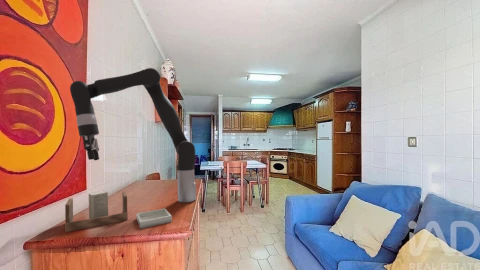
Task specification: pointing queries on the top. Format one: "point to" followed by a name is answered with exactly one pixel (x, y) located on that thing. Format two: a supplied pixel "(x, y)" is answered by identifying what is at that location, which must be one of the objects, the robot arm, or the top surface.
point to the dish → (153, 218)
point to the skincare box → (98, 204)
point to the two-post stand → (94, 221)
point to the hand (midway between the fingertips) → (94, 159)
